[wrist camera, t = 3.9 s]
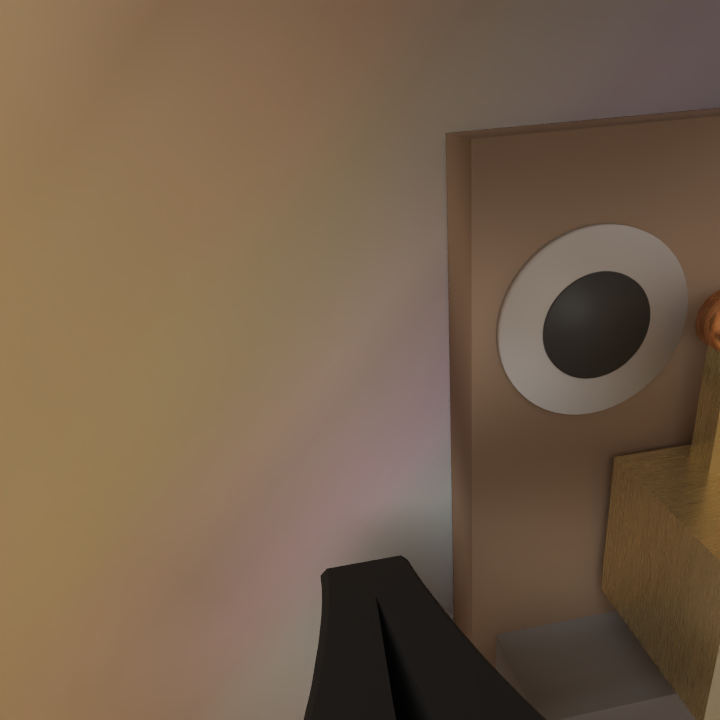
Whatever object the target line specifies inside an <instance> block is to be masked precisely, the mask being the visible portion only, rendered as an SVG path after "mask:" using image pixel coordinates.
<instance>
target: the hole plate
mask: <svg viewBox="0 0 720 720" xmlns="http://www.w3.org/2000/svg"><path fill="white" fill-rule="evenodd" d="M446 162H447V223H448V283H449V344H450V404H451V465H452V525H453V586H454V623H455V624H456V625H457V626H458V628H459V629H460V630H461V631H462V632H463V633H464V634H465V636H466V637H467V638H468V639H469V640H470V641H471V642H472V643H473V645H474V646H475V647H476V648H477V649H478V650H479V651H480V653H481V654H482V655H483V656H484V657H485V658H486V659H487V660H488V661H489V663H490V664H491V665H492V666H493V667H494V668H495V669H496V670H497V671H498V672H499V673H500V674H501V675H502V676H503V677H504V678H505V679H506V680H507V681H508V682H509V683H510V684H511V685H512V686H513V687H514V688H515V689H516V690H517V692H518V693H519V694H520V695H521V696H522V697H523V698H524V699H525V700H526V701H527V702H528V703H530V704H531V705H532V706H533V707H534V708H535V709H536V710H537V711H538V712H539V713H540V714H541V715H542V716H543V717H544V718H545V719H546V720H696V719H695V718H694V717H693V715H692V714H691V713H690V711H689V710H688V708H687V707H686V706H685V704H684V703H683V702H682V700H681V699H680V697H679V696H678V695H677V693H676V692H675V690H674V689H673V688H672V686H671V685H670V684H669V682H668V681H667V679H666V678H665V677H664V675H663V674H662V673H661V671H660V670H659V668H658V667H657V666H656V664H655V663H654V662H653V660H652V659H651V657H650V656H649V655H648V653H647V652H646V650H645V649H644V648H643V646H642V645H641V644H640V642H639V641H638V639H637V638H636V637H635V635H634V634H633V633H632V631H631V630H630V628H629V627H628V626H627V624H626V623H625V621H624V620H623V619H622V617H621V616H620V615H619V613H618V612H617V610H616V609H615V608H614V606H613V605H612V604H611V602H610V601H609V599H608V598H607V597H606V595H605V594H604V593H603V591H602V590H601V581H602V572H603V562H604V552H605V543H606V533H607V523H608V514H609V504H610V494H611V485H612V475H613V465H614V457H618V456H624V455H630V454H636V453H642V452H648V451H654V450H660V449H666V448H672V447H678V446H684V445H690V444H692V439H693V433H694V427H695V420H696V414H697V408H698V402H699V395H700V389H701V383H702V376H703V370H704V364H705V358H706V351H707V345H706V344H705V343H703V342H702V341H701V340H700V339H699V338H698V336H697V333H696V329H695V321H696V317H697V314H698V311H699V309H700V307H701V306H702V304H703V303H704V302H705V301H706V299H707V298H708V297H710V296H711V295H712V294H713V293H715V292H717V291H718V290H720V108H714V109H703V110H692V111H681V112H670V113H660V114H649V115H638V116H627V117H616V118H605V119H594V120H584V121H573V122H562V123H551V124H540V125H529V126H518V127H508V128H497V129H486V130H475V131H464V132H453V133H446Z"/></svg>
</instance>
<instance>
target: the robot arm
mask: <svg viewBox="0 0 720 720" xmlns="http://www.w3.org/2000/svg"><path fill="white" fill-rule="evenodd" d="M321 584H322V616H321V626H320V636H319V644H318V650H317V656H316V662H315V668H314V674H313V681H312V686H311V691H310V696H309V700H308V704H307V708H306V713H305V717H304V720H546V719H545V718H544V717H543V716H542V715H541V714H540V713H539V712H538V711H537V710H536V709H535V708H534V707H533V706H532V705H531V704H530V703H528V702H527V701H526V700H525V699H524V698H523V697H522V696H521V695H520V694H519V693H518V692H517V690H516V689H515V688H514V687H513V686H512V685H511V684H510V683H509V682H508V681H507V680H506V679H505V678H504V677H503V676H502V675H501V674H500V673H499V672H498V671H497V670H496V669H495V668H494V667H493V666H492V665H491V664H490V663H489V661H488V660H487V659H486V658H485V657H484V656H483V655H482V654H481V653H480V651H479V650H478V649H477V648H476V647H475V646H474V645H473V643H472V642H471V641H470V640H469V639H468V638H467V637H466V636H465V634H464V633H463V632H462V631H461V630H460V629H459V628H458V626H457V625H456V624H455V623H454V622H453V620H452V619H451V618H450V617H449V616H448V614H447V613H446V612H445V611H444V609H443V608H442V607H441V606H440V604H439V603H438V602H437V600H436V599H435V598H434V597H433V595H432V594H431V593H430V591H429V590H428V589H427V587H426V586H425V585H424V583H423V582H422V580H421V579H420V578H419V576H418V575H417V573H416V572H415V570H414V569H413V567H412V566H411V564H410V563H409V561H408V560H407V559H405V558H404V557H403V556H395V557H390V558H384V559H379V560H373V561H368V562H362V563H356V564H351V565H345V566H340V567H334V568H329V569H326V570H325V571H324V573H323V574H322V575H321Z"/></svg>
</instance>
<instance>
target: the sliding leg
mask: <svg viewBox="0 0 720 720" xmlns="http://www.w3.org/2000/svg"><path fill="white" fill-rule="evenodd" d="M695 329H696V333H697V336H698V338H699V339H700V340H701V341H702V342H703V343H705V344H706V345H707V351H706V358H705V364H704V370H703V376H702V383H701V389H700V395H699V402H698V408H697V414H696V420H695V427H694V433H693V439H692V444H690V445H684V446H678V447H672V448H666V449H660V450H654V451H648V452H642V453H636V454H630V455H624V456H618V457H614V465H613V475H612V485H611V494H610V504H609V514H608V523H607V533H606V543H605V552H604V562H603V572H602V581H601V590H602V591H603V593H604V594H605V595H606V597H607V598H608V599H609V601H610V602H611V604H612V605H613V606H614V608H615V609H616V610H617V612H618V613H619V615H620V616H621V617H622V619H623V620H624V621H625V623H626V624H627V626H628V627H629V628H630V630H631V631H632V633H633V634H634V635H635V637H636V638H637V639H638V641H639V642H640V644H641V645H642V646H643V648H644V649H645V650H646V652H647V653H648V655H649V656H650V657H651V659H652V660H653V662H654V663H655V664H656V666H657V667H658V668H659V670H660V671H661V673H662V674H663V675H664V677H665V678H666V679H667V681H668V682H669V684H670V685H671V686H672V688H673V689H674V690H675V692H676V693H677V695H678V696H679V697H680V699H681V700H682V702H683V703H684V704H685V706H686V707H687V708H688V710H689V711H690V713H691V714H692V715H693V717H694V718H695V719H696V720H720V290H718V291H717V292H715V293H713V294H712V295H711V296H710V297H708V298H707V299H706V301H705V302H704V303H703V304H702V306H701V307H700V309H699V311H698V314H697V317H696V321H695Z"/></svg>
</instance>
